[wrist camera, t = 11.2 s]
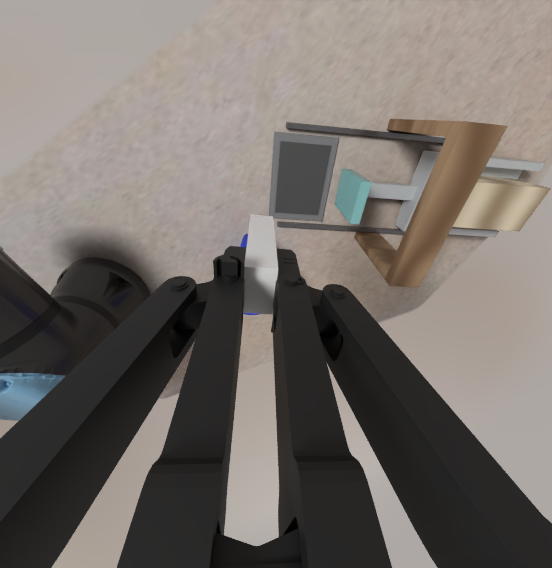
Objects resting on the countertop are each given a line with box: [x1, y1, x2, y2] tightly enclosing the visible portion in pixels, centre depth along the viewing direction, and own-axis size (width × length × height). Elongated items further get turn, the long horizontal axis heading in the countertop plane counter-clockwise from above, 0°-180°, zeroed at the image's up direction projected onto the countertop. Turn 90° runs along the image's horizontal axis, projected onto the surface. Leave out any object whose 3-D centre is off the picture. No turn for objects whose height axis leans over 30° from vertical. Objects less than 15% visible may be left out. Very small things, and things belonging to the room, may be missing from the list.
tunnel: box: [354, 119, 508, 287], centre depth 31 cm, size 4×17×14 cm, turn 175°
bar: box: [453, 176, 550, 231], centre depth 34 cm, size 12×6×6 cm, turn 85°
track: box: [277, 122, 500, 240], centre depth 36 cm, size 30×15×1 cm, turn 85°
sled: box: [335, 150, 545, 237], centre depth 33 cm, size 28×11×10 cm, turn 85°
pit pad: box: [269, 132, 339, 221], centre depth 36 cm, size 9×12×1 cm
